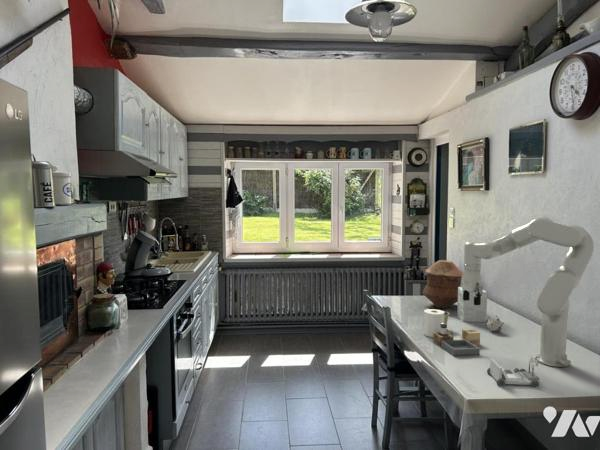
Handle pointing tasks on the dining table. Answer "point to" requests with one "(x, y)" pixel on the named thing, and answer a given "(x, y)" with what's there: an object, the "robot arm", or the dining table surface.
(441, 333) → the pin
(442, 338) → the square wooden socket
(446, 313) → the flower pot
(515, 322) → the dining table surface
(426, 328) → the toilet paper
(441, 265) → the pottery vessel
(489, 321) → the game die
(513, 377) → the toy car
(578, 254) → the robot arm
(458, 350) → the tray
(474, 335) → the oak block
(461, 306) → the supplement box
